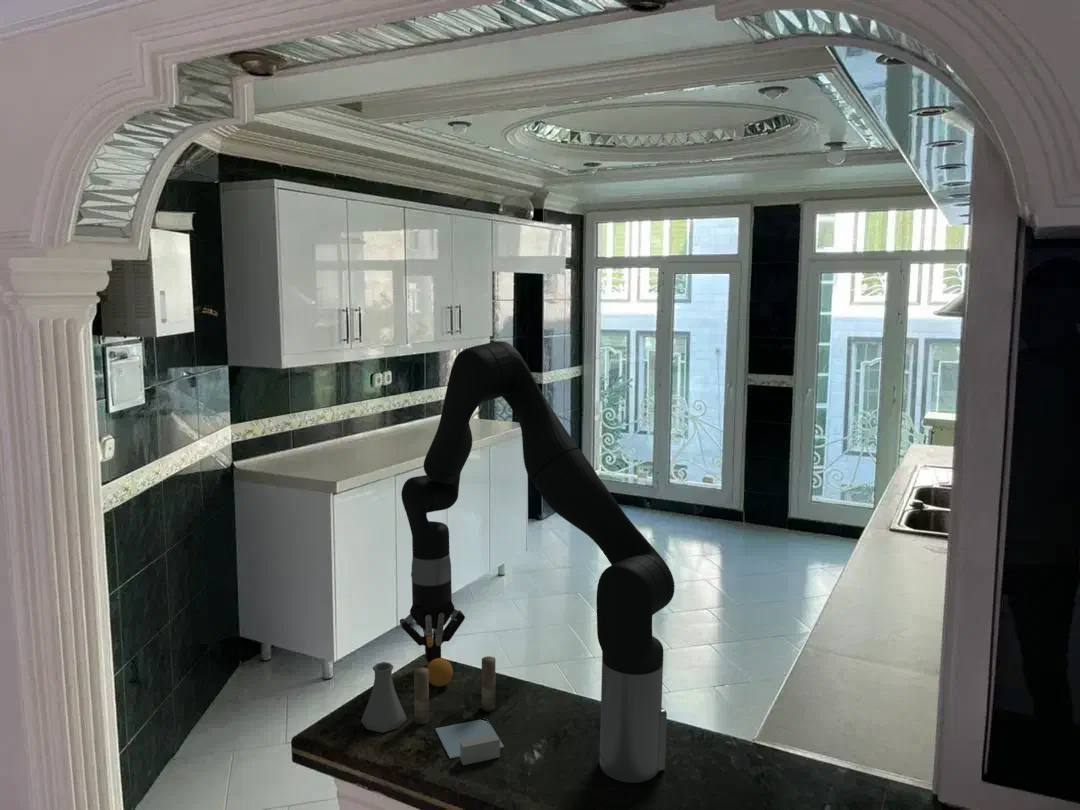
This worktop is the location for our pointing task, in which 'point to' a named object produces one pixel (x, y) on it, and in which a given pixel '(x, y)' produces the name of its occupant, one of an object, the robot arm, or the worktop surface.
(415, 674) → the outer post
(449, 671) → the ball
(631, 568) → the robot arm
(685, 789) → the worktop surface
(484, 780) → the worktop surface
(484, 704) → the inner post
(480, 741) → the block
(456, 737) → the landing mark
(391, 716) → the flask
